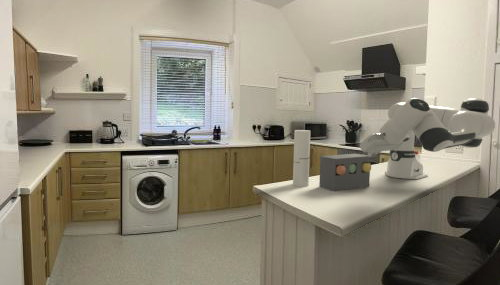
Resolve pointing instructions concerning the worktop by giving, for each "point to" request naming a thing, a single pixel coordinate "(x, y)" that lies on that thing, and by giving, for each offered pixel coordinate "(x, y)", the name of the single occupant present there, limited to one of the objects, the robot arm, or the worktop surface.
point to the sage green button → (352, 168)
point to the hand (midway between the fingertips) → (370, 155)
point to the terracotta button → (340, 170)
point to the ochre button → (366, 167)
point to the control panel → (348, 179)
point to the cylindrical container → (301, 158)
